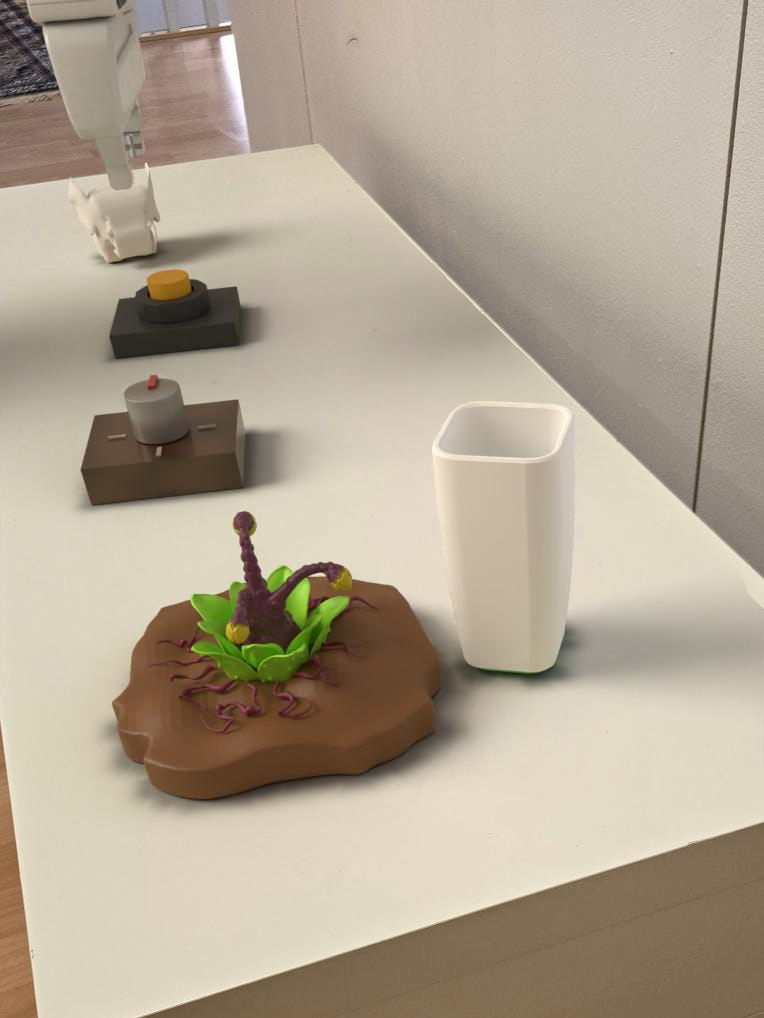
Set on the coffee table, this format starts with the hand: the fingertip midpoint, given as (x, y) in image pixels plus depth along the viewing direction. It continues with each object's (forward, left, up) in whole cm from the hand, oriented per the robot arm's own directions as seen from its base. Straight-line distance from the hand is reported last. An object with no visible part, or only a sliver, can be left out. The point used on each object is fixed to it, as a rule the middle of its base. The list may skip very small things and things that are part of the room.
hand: (129, 171), depth 103 cm
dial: (+1, -21, -14) cm, 25 cm away
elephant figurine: (-7, +34, -17) cm, 39 cm away
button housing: (0, +9, -17) cm, 19 cm away
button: (0, +9, -13) cm, 16 cm away
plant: (+10, -54, -17) cm, 57 cm away
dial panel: (+1, -21, -17) cm, 27 cm away
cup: (+25, -53, -17) cm, 61 cm away
